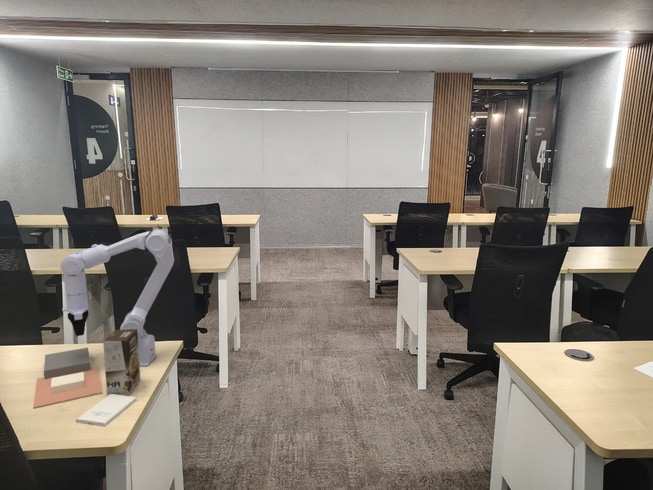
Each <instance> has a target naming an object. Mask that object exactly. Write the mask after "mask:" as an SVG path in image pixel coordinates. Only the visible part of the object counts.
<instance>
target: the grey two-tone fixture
mask: <svg viewBox="0 0 653 490" xmlns="http://www.w3.org/2000/svg"><path fill="white" fill-rule="evenodd" d="M90 359H91V358H90V352H89V347H82V348H77V349H72V350H65V351H60V352H59V351H58V352H54V353H49V354H48V353H47V354H45V355H44V365H43V366H44V367H43V375H44V376H43V377H45V379H48V378H53V377H59V376H64V375H69V374H74V373H79V372H84V371H89V370H91V368H92V367H91V360H90Z"/></svg>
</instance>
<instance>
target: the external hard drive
mask: <svg viewBox="0 0 653 490" xmlns="http://www.w3.org/2000/svg"><path fill="white" fill-rule="evenodd" d="M136 401H137V397H136V396H130V395H116V394H110V395H108V396H107V395H106V397H104V398H103V399H101V400H100V401H99V402H98V403H96V404H94V405H93V406H92V407H90V408H89V409H88V410H87V411H86V412H84V413H83V414H82V415H80V416H79V417H77V418H76V419H75V422H76V423H78V424H84V425H85V424H87V425H93V426H98V427H99V426H100V427H106V426H107V425H109V424H110V423H111V422H113V420H114V419H116V418H118V417H119V416H120V415H121V414H122V413H123V412H125V411H127V409H128V408H130V406H132V405H134V403H135V402H136Z"/></svg>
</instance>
